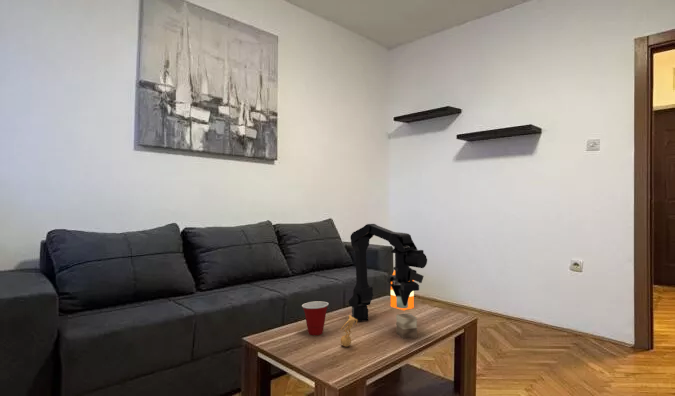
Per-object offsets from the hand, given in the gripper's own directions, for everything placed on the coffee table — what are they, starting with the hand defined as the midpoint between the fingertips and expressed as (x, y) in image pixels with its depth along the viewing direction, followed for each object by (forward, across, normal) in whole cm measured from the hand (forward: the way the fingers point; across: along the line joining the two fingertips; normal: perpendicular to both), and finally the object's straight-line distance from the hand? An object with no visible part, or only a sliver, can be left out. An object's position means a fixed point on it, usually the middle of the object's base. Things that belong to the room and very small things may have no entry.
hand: (402, 304), depth 153 cm
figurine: (+13, -7, +24) cm, 28 cm away
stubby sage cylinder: (+1, 0, 0) cm, 1 cm away
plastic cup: (+12, +10, +34) cm, 37 cm away
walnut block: (+13, 0, -2) cm, 13 cm away
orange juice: (+12, +38, -16) cm, 43 cm away
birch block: (+9, -1, -1) cm, 9 cm away
